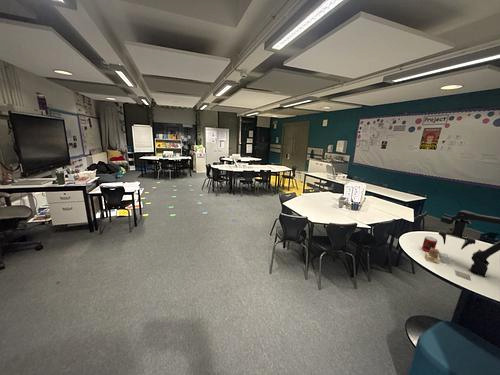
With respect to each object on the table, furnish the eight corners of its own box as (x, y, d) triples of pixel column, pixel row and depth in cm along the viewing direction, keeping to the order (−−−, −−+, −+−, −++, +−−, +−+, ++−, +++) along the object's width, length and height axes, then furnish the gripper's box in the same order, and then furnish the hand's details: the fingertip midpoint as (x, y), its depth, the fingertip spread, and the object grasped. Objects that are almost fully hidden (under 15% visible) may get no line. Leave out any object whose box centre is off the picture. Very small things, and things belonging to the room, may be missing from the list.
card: (469, 275, 136) (469, 274, 136) (470, 280, 131) (471, 279, 131) (455, 270, 141) (455, 270, 140) (455, 275, 136) (456, 274, 135)
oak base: (436, 259, 153) (438, 255, 152) (438, 264, 147) (440, 259, 146) (424, 256, 157) (426, 252, 156) (426, 260, 151) (427, 256, 150)
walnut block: (436, 255, 151) (438, 249, 150) (437, 258, 148) (439, 252, 147) (428, 253, 154) (430, 247, 153) (429, 255, 151) (430, 249, 150)
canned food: (430, 248, 168) (434, 237, 165) (435, 254, 161) (439, 241, 158) (419, 247, 170) (423, 235, 167) (424, 252, 163) (428, 239, 160)
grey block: (445, 260, 153) (447, 254, 151) (447, 263, 149) (449, 257, 147) (437, 258, 155) (439, 252, 153) (439, 261, 151) (441, 255, 149)
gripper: (476, 228, 145) (469, 247, 149) (441, 220, 157) (435, 238, 161) (478, 233, 137) (471, 253, 141) (441, 224, 149) (435, 243, 153)
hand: (452, 246), depth 149 cm, fingers open, 9 cm apart
